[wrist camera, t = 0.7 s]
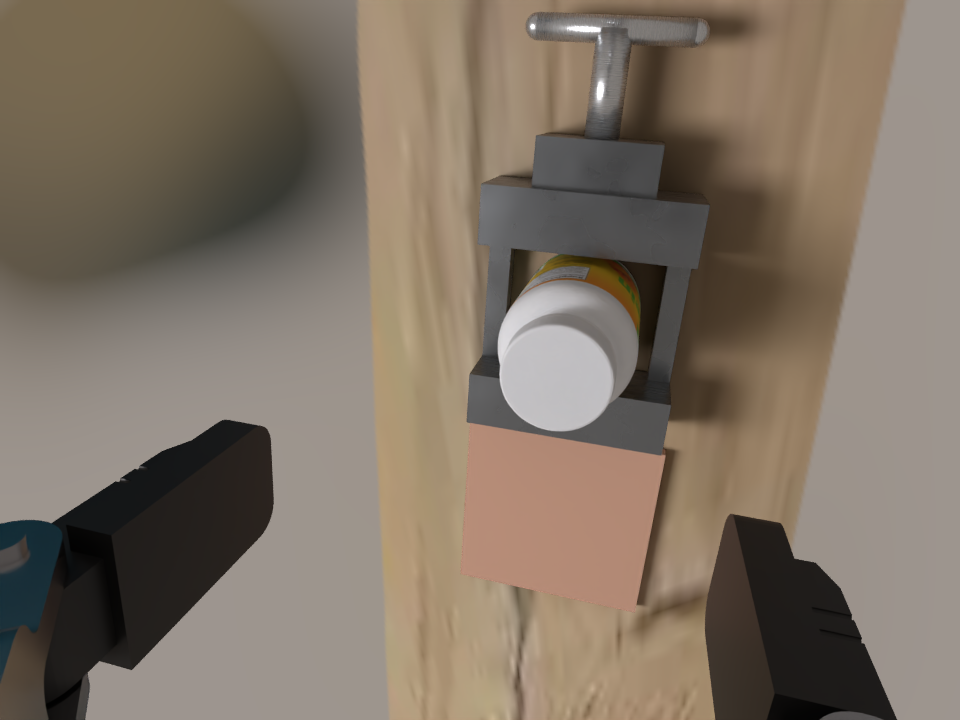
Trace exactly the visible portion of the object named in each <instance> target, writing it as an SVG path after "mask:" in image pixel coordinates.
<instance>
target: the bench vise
mask: <svg viewBox="0 0 960 720" xmlns="http://www.w3.org/2000/svg"><path fill="white" fill-rule="evenodd" d="M526 32H527V34H528V35H529V37H530V38H532V39H534V40H541V41H562V42H583V43H595V50H594V58H593V67H592V75H591V84H590V92H589V101H588V110H587V118H586V127H585V135H584V136H579V135H566V134H553V133H545V134H540V135H536V142H535V153H534V164H533V176H532V179H529V178H518V177H507V176H498V177H496V178H493V179H491V180H489V181H486V182H484V183H482V184H481V197H480V213H479V230H478V244H479V245H488V246H490V254H489V268H488V283H487V297H486V312H485V327H484V341H483V355H482V357H481V358H480V360H479V361H478V363H477V364H476V365H475V367H474V368H473V370H472V371H471V373H470V377H469V393H468V409H467V422H468V423H474V424H480V425H485V426H491V427H497V428H503V429H509V430H514V431H520V432H526V433H532V434H538V435H543V436H549V437H555V438H561V439H567V440H573V441H578V442H584V443H590V444H596V445H602V446H607V447H613V448H619V449H625V450H631V451H636V452H642V453H648V454H654V455H660V456H661V455H662V450H663V445H664V440H665V435H666V430H667V425H668V419H669V414H670V409H671V396H670V378H671V373H672V368H673V363H674V357H675V352H676V347H677V342H678V336H679V331H680V326H681V321H682V315H683V310H684V305H685V300H686V294H687V289H688V284H689V279H690V273H691V269H698V265H699V260H700V255H701V249H702V244H703V239H704V234H705V229H706V224H707V218H708V213H709V208H710V204H709V203H708V201H707V200H706V198H705V197H704V195H703V194H693V193H682V192H671V191H660V190H658V185H659V179H660V172H661V166H662V160H663V154H664V148H665V144H664V142H658V141H645V140H632V139H619V135H620V128H621V120H622V113H623V106H624V98H625V91H626V84H627V76H628V69H629V62H630V54H631V47H632V45H646V46H667V47H688V48H697V47H700V46H702V45H703V44H704V43H705V42H706V41H707V40H708V38H709V35H710V26H709V24H708V22H707V21H706V20H704V19H702V18H688V17H662V16H636V15H610V14H584V13H558V12H535V13H533V14H531V15H530V16H529V18H528V19H527V22H526ZM515 249H523V250H532V251H541V252H549V253H558V254H567V255H576V256H584V257H593V258H602V259H611V260H619V261H628V262H637V263H646V264H655V265H663V266H666V271H665V277H664V282H663V288H662V294H661V299H660V305H659V311H658V317H657V322H656V328H655V334H654V339H653V345H652V351H651V357H650V362H649V368H648V372H644V371H637V370H635V371H634V374H633V376H632V378H631V380H630V382H629V384H628V385H627V387H626V388H625V389H624V391H623V392H622V393H621V394H620V395H619V396H618V397H617V398H616V399H615V400H614V401H612V402H611V403H610V404H609V405H608V407H607V408H606V409H605V411H604V412H603V413H602V414H601V415H600V416H599V417H598V418H597V419H595V420H594V421H593V422H591V423H590V424H588V425H586V426H584V427H582V428H579V429H575V430H571V431H550V430H545V429H541V428H538V427H536V426H534V425H532V424H530V423H528V422H526V421H525V420H523V419H522V418H521V417H519V416H518V415H517V414H516V413H515V412H514V411H513V409H512V408H511V407H510V406H509V404H508V403H507V401H506V399H505V397H504V395H503V392H502V389H501V385H500V375H499V374H500V362H499V357H498V337H499V332H500V328H501V325H502V323H503V321H504V318H505V316H506V314H507V312H508V311H509V309H510V302H511V290H512V278H513V266H514V254H515Z"/></svg>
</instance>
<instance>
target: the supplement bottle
mask: <svg viewBox="0 0 960 720" xmlns="http://www.w3.org/2000/svg"><path fill="white" fill-rule="evenodd" d="M640 313H641V303H640V295H639V290H638V287H637V284H636V282H635V280H634V278H633V276H632V275H631V273H630V272H629V271H628V269H627V268H626V267H625V266H624V265H623V264H621V263H620V262H619V261H618V260H611V259H602V258H593V257H584V256H576V255H567V254H558V255H556V256H554V257H553V258H551V259H550V260H548V261H547V262H546V263H545V264H543V265H542V266H541V267H540V268H539V269H538V271H537V272H536V273H535V274H534V275H533V277H532V278H531V280H530V281H529V283H528V284H527V285H526V287H525V288H524V290H523V291H522V292H521V294H520V295H519V297H518V298H517V299H516V301H515V302H514V303H513V305H512V306H511V308H510V309H509V311H508V312H507V314H506V316H505V318H504V321H503V323H502V325H501V328H500V332H499V337H498V357H499V362H500V374H499V375H500V385H501V389H502V392H503V395H504V397H505V399H506V401H507V403H508V404H509V406H510V407H511V408H512V409H513V411H514V412H515V413H516V414H517V415H518V416H519V417H521V418H522V419H523V420H525V421H526V422H528V423H530V424H532V425H534V426H536V427H538V428H541V429H545V430H550V431H571V430H575V429H579V428H582V427H584V426H586V425H588V424H590V423H591V422H593V421H594V420H595V419H597V418H598V417H599V416H600V415H601V414H602V413H603V412H604V411H605V409H606V408H607V407H608V405H609V404H610V403H611V402H612V401H614V400H615V399H616V398H617V397H618V396H619V395H620V394H621V393H622V392H623V391H624V389H625V388H626V387H627V385H628V384H629V382H630V380H631V378H632V376H633V374H634V371H635V368H636V364H637V358H638V349H639V327H640Z"/></svg>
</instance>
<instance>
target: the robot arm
mask: <svg viewBox="0 0 960 720" xmlns="http://www.w3.org/2000/svg"><path fill="white" fill-rule="evenodd" d="M273 500H274V497H273V477H272V455H271V438H270V434H269V432H268V430H267V429H266V428H265V427H263V426H258V425H252V424H247V423H242V422H236V421H231V420H222V421H220V422H218V423H217V424H215V425H214V426H212V427H211V428H209V429H208V430H206V431H205V432H203V433H202V434H200V435H199V436H197V437H196V438H195V439H193V440H192V441H188V442H186V443H183V444H181V445H178V446H175V447H172V448H169V449H167V450H164V451H162V452H160V453H158V454H157V455H155V456H154V457H152V458H151V459H149V460H148V461H146V462H145V463H143V464H142V465H140V466H139V469H134V470H132V471H131V472H129V473H128V474H126V475H125V476H123V477H122V478H121V479H120V482H114V483H113V484H111V485H110V486H108V487H106V488H105V489H103V490H102V491H100V492H99V493H97V494H96V495H94V496H92V497H91V498H90V499H88V500H87V501H85V502H83V503H82V504H80V505H79V506H77V507H76V508H74V509H73V510H71V511H69V512H68V513H66V514H65V515H63V516H62V517H60V518H59V519H57V520H56V521H54V522H53V523H49V522H45V521H39V520H20V521H11V522H7V523H1V524H0V720H85V718H86V712H87V704H88V698H89V692H90V683H89V678H88V672H89V671H90V670H91V669H92V668H93V667H94V666H95V665H96V664H97V663H98V662H99V661H101V662H105V663H109V664H112V665H116V666H120V667H123V668H126V669H130V670H132V669H133V668H134V667H135V666H136V665H137V664H138V663H139V662H140V661H141V660H142V659H143V658H144V657H145V656H146V655H147V654H148V653H149V652H150V651H151V650H152V649H153V648H154V647H155V645H156V644H157V643H158V642H159V641H160V640H161V639H162V638H163V637H164V636H165V635H166V634H167V633H168V632H169V631H170V630H171V629H172V628H173V627H174V626H175V625H176V624H177V623H178V622H179V621H180V619H181V618H182V617H183V616H184V615H185V614H186V613H187V612H188V611H189V610H190V609H191V608H192V607H193V606H194V605H195V604H196V603H197V602H198V601H199V600H200V599H201V598H202V596H204V594H205V593H206V592H207V591H208V590H209V589H210V588H211V587H212V586H213V585H214V584H215V583H216V582H217V581H218V580H219V579H220V578H221V577H222V576H223V575H224V574H225V573H226V572H227V571H228V570H229V569H230V568H231V567H232V565H233V564H234V563H235V562H236V561H237V560H238V559H239V558H240V557H241V556H242V555H243V554H244V553H245V552H246V551H247V550H248V549H249V548H250V547H251V546H252V545H253V544H254V542H256V541H257V540H258V538H259V537H260V536H261V535H262V534H263V533H264V531H265V529H266V528H267V526H268V523H269V521H270V518H271V515H272V511H273V504H274V501H273ZM705 636H706V645H707V653H708V662H709V670H710V678H711V687H712V695H713V703H714V712H715V720H897V719H896V716H895V714H894V712H893V709H892V707H891V705H890V702H889V700H888V698H887V695H886V693H885V691H884V688H883V686H882V684H881V681H880V679H879V677H878V675H877V672H876V670H875V668H874V665H873V663H872V661H871V659H870V656H869V654H868V651H867V649H866V647H865V644H863V643H861V639H862V637H861V635H860V633H859V630H858V628H857V626H856V623H855V622H854V620H852V614H851V612H850V610H849V607H848V605H847V603H846V600H845V598H844V596H843V594H842V591H841V589H840V588H839V586H837V584H836V583H835V582H834V581H833V580H832V579H831V578H830V577H829V576H828V575H827V574H826V573H825V572H824V571H823V570H822V569H821V568H820V567H819V566H818V565H817V564H816V563H814V562H809V561H804V560H799V559H794V556H793V553H792V551H791V548H790V545H789V542H788V539H787V536H786V534H785V531H784V528H783V526H782V524H781V523H778V522H772V521H767V520H761V519H756V518H750V517H745V516H740V515H734V514H730V515H729V516H728V518H727V520H726V522H725V526H724V530H723V534H722V538H721V542H720V546H719V551H718V555H717V559H716V563H715V567H714V572H713V576H712V580H711V584H710V589H709V593H708V598H707V605H706V615H705Z"/></svg>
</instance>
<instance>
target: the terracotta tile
mask: <svg viewBox="0 0 960 720" xmlns="http://www.w3.org/2000/svg"><path fill="white" fill-rule="evenodd" d="M665 457H666V450H665V449H663V450H662V455H661V456H660V455H654V454H648V453H642V452H636V451H631V450H625V449H619V448H613V447H607V446H602V445H596V444H590V443H584V442H578V441H573V440H567V439H561V438H555V437H549V436H543V435H538V434H532V433H526V432H520V431H514V430H509V429H503V428H497V427H491V426H485V425H480V424H474V423H470V434H469V449H468V465H467V481H466V496H465V512H464V528H463V544H462V559H461V574H463V575H468V576H472V577H477V578H481V579H486V580H490V581H495V582H499V583H504V584H508V585H513V586H517V587H522V588H526V589H531V590H535V591H540V592H544V593H549V594H553V595H558V596H562V597H567V598H571V599H576V600H580V601H585V602H589V603H594V604H598V605H603V606H607V607H612V608H617V609H621V610H626V611H630V612H635V609H636V604H637V599H638V594H639V589H640V584H641V579H642V573H643V568H644V563H645V558H646V553H647V548H648V543H649V538H650V533H651V528H652V523H653V518H654V513H655V507H656V502H657V497H658V492H659V487H660V482H661V477H662V472H663V467H664V462H665Z"/></svg>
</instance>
